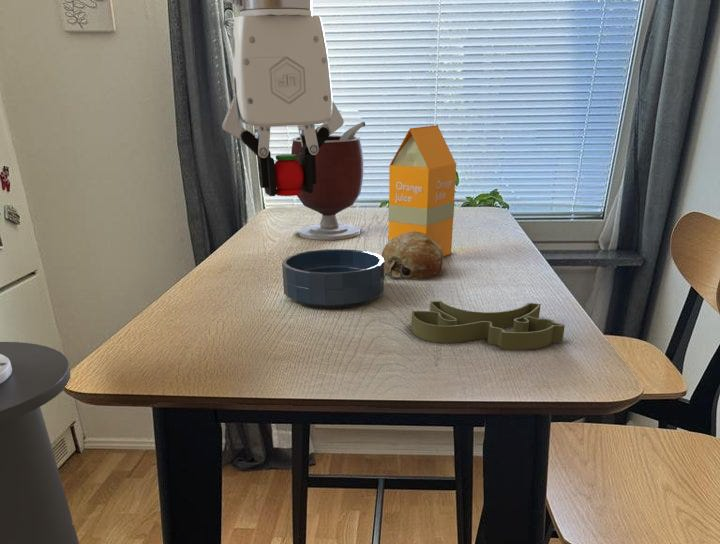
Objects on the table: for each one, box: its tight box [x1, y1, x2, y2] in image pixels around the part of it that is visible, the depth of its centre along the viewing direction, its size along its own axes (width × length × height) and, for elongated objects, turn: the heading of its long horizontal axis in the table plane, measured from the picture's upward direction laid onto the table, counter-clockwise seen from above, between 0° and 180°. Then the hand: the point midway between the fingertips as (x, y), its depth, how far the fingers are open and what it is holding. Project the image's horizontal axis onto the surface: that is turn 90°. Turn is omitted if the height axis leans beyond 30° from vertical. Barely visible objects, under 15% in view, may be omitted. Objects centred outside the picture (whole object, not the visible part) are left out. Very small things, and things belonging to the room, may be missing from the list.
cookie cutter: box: [410, 300, 566, 351], centre depth 82 cm, size 18×12×2 cm, turn 83°
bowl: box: [281, 248, 385, 309], centre depth 95 cm, size 14×14×5 cm
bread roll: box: [381, 231, 444, 280], centre depth 106 cm, size 10×10×8 cm
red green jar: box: [274, 153, 304, 197], centre depth 77 cm, size 4×4×4 cm
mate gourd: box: [290, 121, 366, 241], centre depth 129 cm, size 16×14×20 cm
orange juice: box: [388, 124, 457, 257], centre depth 112 cm, size 8×9×20 cm
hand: (288, 191), depth 78 cm, fingers closed on red green jar, 3 cm apart
